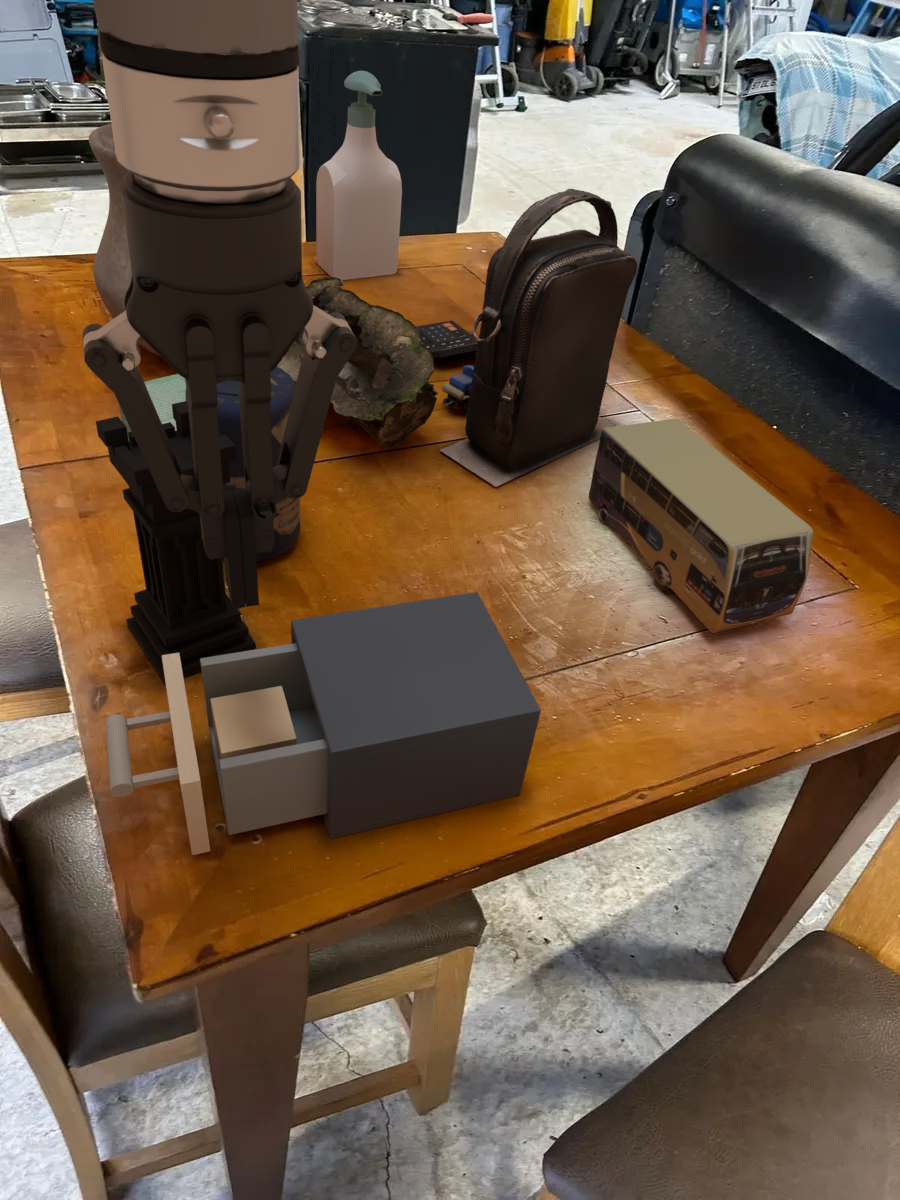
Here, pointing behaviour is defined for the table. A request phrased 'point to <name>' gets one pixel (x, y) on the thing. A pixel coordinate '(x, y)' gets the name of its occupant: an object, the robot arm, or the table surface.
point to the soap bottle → (358, 197)
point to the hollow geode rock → (374, 366)
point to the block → (251, 722)
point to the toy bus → (701, 523)
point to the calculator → (446, 339)
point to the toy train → (459, 389)
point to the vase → (112, 231)
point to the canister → (230, 425)
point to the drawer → (247, 782)
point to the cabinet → (415, 710)
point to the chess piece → (175, 558)
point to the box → (164, 397)
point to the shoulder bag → (544, 342)
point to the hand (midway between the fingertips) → (242, 592)
